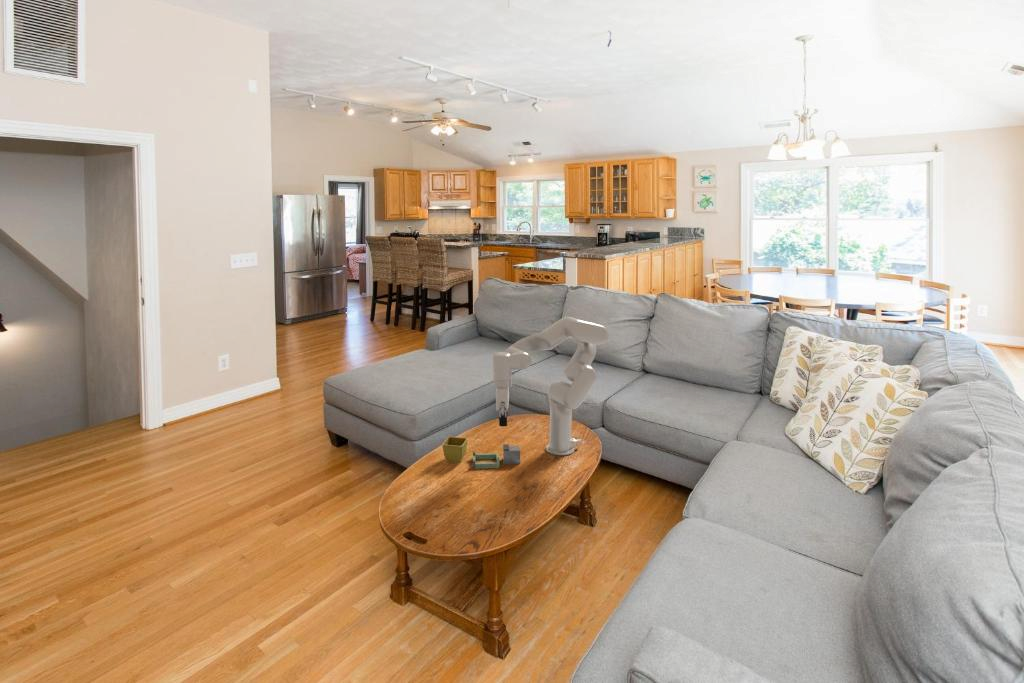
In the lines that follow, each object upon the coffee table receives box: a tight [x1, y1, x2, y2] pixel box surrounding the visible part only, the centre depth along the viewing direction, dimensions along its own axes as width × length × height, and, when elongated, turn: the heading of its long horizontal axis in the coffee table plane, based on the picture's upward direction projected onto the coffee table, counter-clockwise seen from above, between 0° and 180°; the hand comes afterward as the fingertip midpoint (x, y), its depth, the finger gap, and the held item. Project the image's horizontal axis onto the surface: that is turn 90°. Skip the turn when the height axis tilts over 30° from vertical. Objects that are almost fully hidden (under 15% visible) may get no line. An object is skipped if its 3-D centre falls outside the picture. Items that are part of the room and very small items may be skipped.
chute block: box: [502, 443, 521, 465], centre depth 242 cm, size 7×5×7 cm
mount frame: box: [472, 451, 501, 470], centre depth 241 cm, size 11×10×3 cm
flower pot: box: [442, 436, 468, 464], centre depth 242 cm, size 9×9×9 cm
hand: (503, 421), depth 237 cm, fingers open, 9 cm apart
